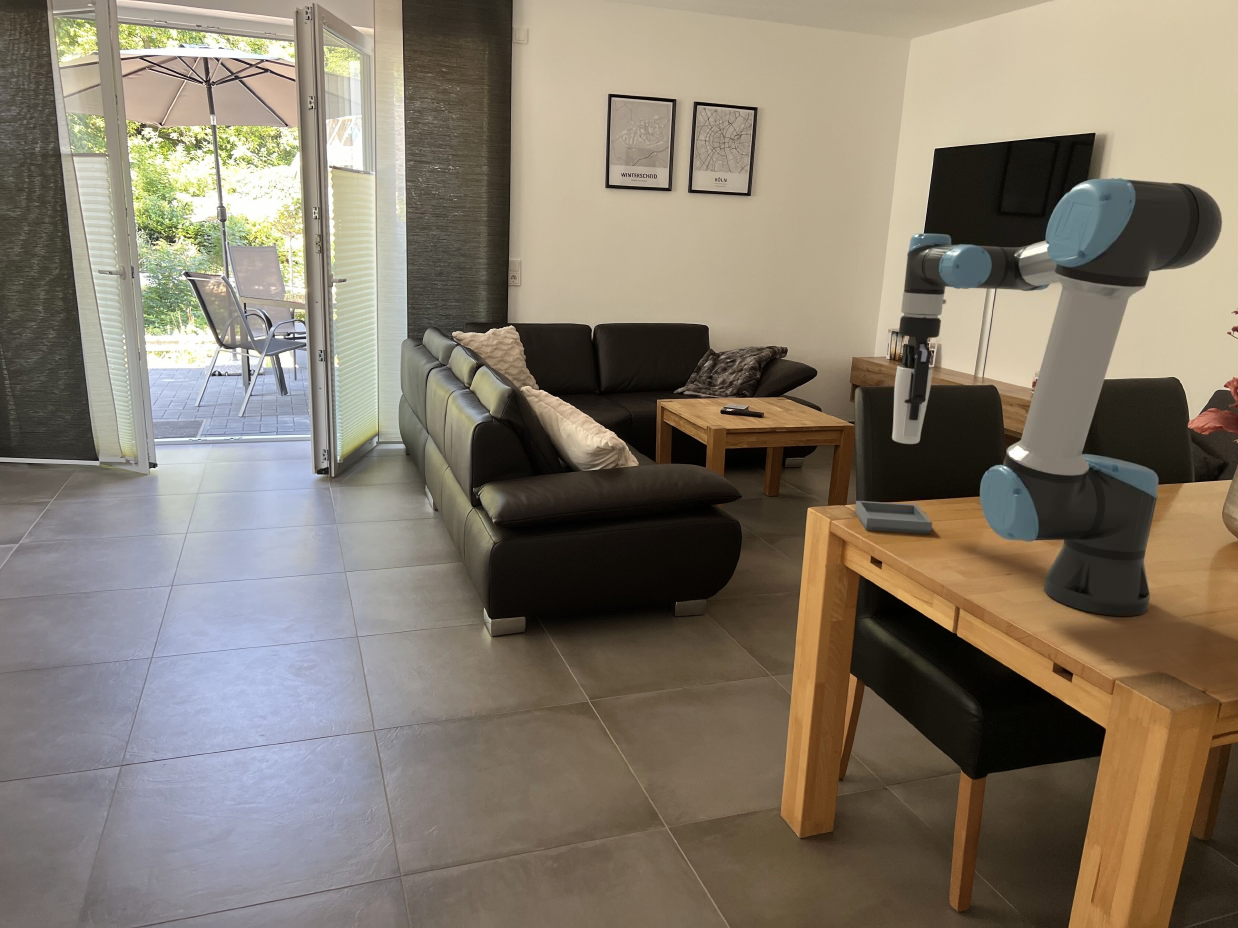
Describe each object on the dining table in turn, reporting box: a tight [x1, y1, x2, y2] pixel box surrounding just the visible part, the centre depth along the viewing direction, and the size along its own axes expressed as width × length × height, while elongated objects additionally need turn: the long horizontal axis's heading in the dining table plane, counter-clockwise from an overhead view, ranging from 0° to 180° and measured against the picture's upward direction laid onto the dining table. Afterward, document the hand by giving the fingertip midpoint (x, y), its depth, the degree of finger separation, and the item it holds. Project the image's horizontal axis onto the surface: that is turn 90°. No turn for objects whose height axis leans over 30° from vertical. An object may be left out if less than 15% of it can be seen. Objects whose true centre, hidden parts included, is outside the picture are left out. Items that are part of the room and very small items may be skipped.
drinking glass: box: [891, 364, 933, 445], centre depth 175 cm, size 7×7×15 cm
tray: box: [854, 500, 933, 535], centre depth 180 cm, size 13×13×2 cm
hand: (906, 432), depth 176 cm, fingers closed on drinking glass, 6 cm apart
